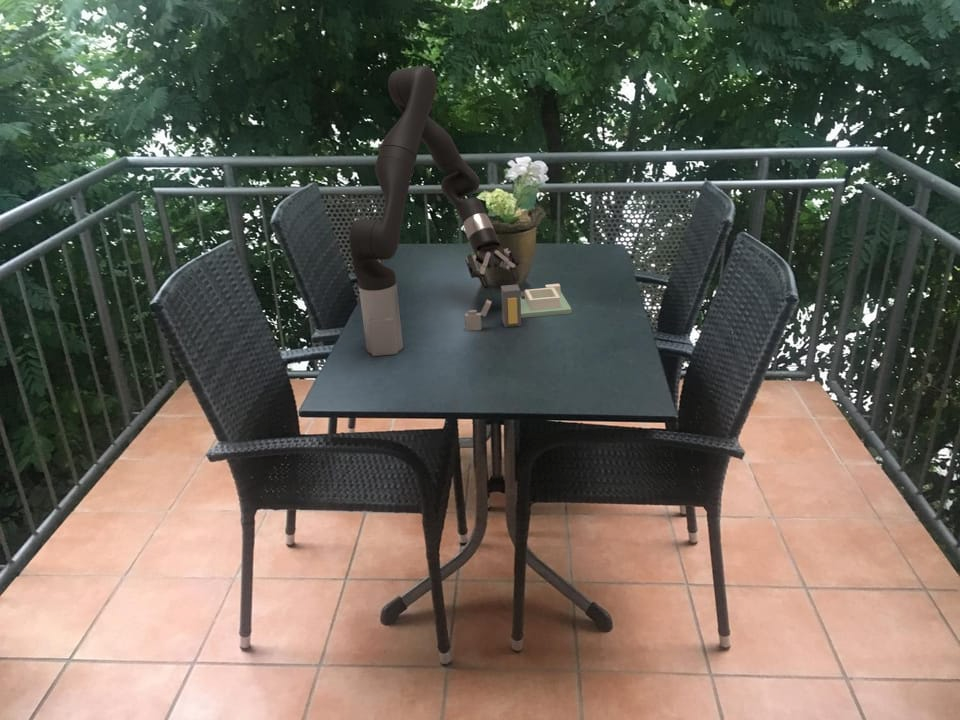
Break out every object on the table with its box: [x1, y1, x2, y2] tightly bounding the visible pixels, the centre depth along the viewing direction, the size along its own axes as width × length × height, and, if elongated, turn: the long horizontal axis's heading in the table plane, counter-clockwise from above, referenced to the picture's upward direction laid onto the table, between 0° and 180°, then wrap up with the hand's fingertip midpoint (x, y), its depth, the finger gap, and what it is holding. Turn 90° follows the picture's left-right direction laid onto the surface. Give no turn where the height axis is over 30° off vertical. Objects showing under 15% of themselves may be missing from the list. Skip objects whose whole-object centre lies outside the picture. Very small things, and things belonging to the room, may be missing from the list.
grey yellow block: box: [500, 283, 522, 328], centre depth 205 cm, size 5×4×10 cm
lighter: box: [464, 299, 492, 332], centre depth 203 cm, size 7×2×8 cm, turn 88°
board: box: [520, 283, 573, 319], centre depth 217 cm, size 16×14×4 cm
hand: (502, 285), depth 207 cm, fingers open, 8 cm apart
